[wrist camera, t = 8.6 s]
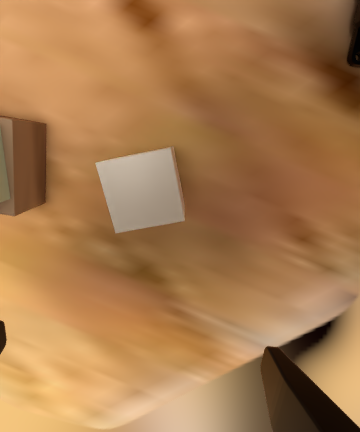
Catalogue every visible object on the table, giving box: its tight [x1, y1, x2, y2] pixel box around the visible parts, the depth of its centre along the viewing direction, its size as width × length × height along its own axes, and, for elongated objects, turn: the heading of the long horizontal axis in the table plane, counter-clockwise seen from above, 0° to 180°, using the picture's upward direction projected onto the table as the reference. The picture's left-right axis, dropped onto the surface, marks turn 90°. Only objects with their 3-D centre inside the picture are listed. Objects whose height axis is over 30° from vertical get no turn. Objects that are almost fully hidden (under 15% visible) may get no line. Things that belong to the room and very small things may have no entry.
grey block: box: [96, 146, 185, 233], centre depth 17 cm, size 4×4×4 cm
